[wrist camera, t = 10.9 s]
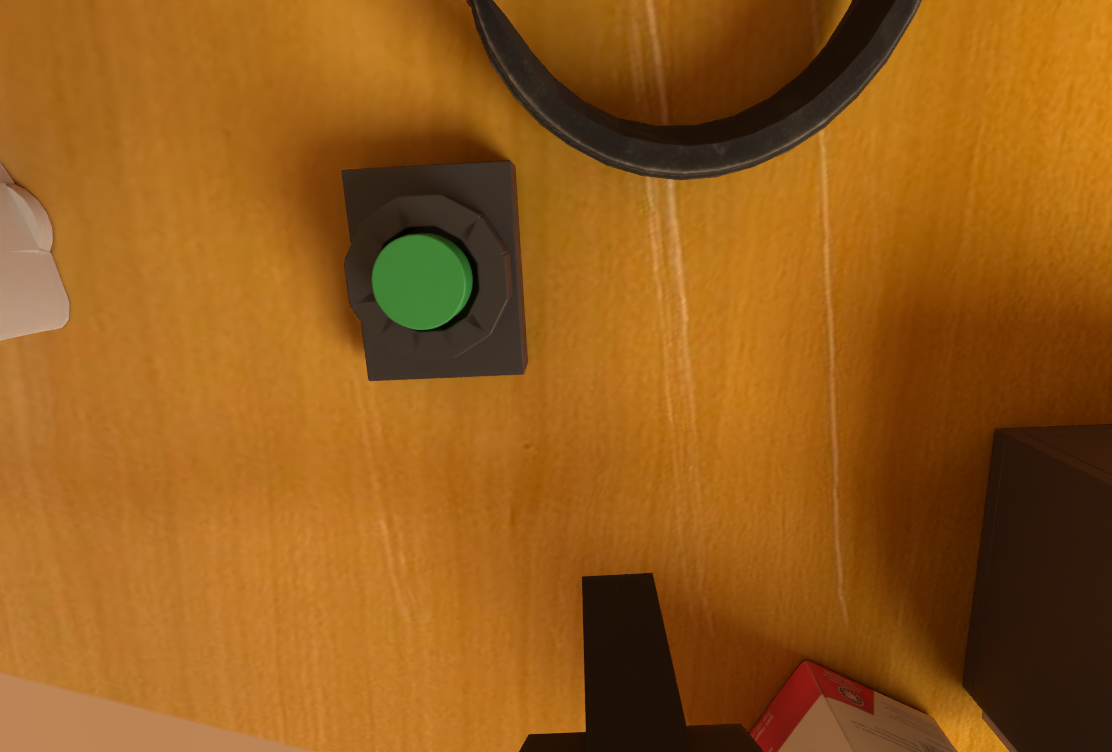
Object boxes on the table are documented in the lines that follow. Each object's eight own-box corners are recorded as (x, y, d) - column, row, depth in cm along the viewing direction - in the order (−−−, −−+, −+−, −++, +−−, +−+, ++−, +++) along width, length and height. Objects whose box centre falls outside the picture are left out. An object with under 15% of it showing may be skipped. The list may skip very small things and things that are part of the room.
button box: (382, 369, 30) (354, 392, 26) (358, 173, 27) (323, 166, 24) (527, 363, 29) (521, 385, 26) (515, 164, 27) (505, 155, 23)
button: (389, 324, 25) (377, 332, 24) (379, 235, 25) (365, 236, 23) (476, 320, 25) (469, 328, 24) (469, 231, 24) (461, 231, 23)
